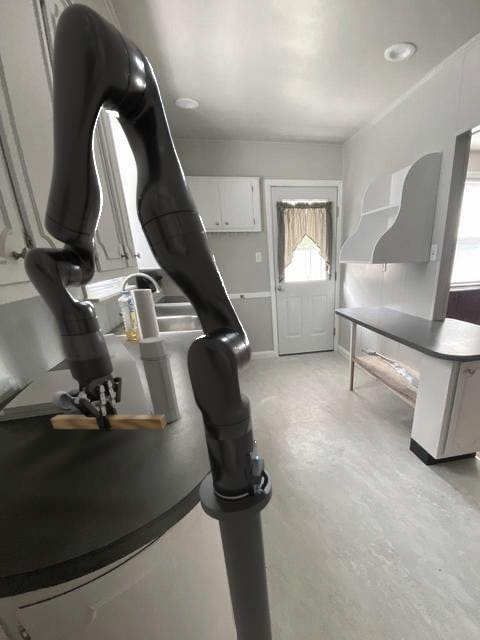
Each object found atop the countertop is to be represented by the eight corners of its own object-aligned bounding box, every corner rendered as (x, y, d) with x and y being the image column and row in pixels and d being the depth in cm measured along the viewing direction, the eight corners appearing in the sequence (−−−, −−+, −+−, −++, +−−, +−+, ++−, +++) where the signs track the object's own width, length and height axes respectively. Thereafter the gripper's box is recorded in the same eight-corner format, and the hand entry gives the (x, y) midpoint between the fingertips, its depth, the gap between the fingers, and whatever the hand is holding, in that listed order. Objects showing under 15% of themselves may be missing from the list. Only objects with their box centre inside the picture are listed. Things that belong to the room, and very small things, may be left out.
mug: (101, 405, 104) (93, 378, 100) (84, 423, 93) (74, 393, 89) (70, 408, 103) (61, 381, 99) (50, 426, 92) (38, 396, 88)
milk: (135, 404, 104) (116, 329, 94) (150, 414, 97) (132, 334, 87) (97, 417, 96) (72, 337, 86) (111, 429, 89) (85, 343, 79)
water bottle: (150, 419, 94) (132, 340, 84) (175, 410, 99) (160, 335, 89) (162, 430, 88) (144, 346, 78) (188, 420, 92) (173, 340, 83)
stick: (166, 424, 69) (164, 414, 68) (162, 429, 67) (159, 419, 66) (61, 424, 71) (57, 414, 70) (53, 429, 69) (49, 419, 68)
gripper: (80, 364, 56) (106, 443, 62) (124, 344, 68) (141, 412, 75) (42, 364, 56) (72, 443, 63) (93, 345, 69) (113, 412, 76)
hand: (110, 426), depth 69 cm, fingers closed on stick, 2 cm apart
